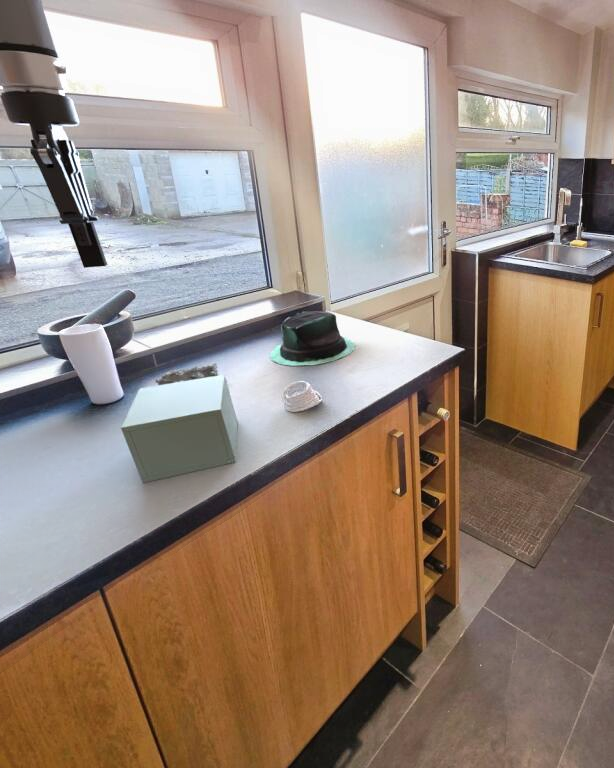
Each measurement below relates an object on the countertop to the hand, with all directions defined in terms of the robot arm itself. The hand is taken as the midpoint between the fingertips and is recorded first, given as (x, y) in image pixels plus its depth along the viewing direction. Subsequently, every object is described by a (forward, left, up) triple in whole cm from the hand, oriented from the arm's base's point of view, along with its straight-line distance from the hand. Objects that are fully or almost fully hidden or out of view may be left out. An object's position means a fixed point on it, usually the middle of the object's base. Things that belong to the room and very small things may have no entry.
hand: (95, 265), depth 78 cm
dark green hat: (-13, +39, -29) cm, 50 cm away
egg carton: (-13, +11, -29) cm, 34 cm away
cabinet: (+14, +2, -29) cm, 32 cm away
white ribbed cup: (+13, +22, -29) cm, 39 cm away
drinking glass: (-20, -2, -29) cm, 35 cm away
